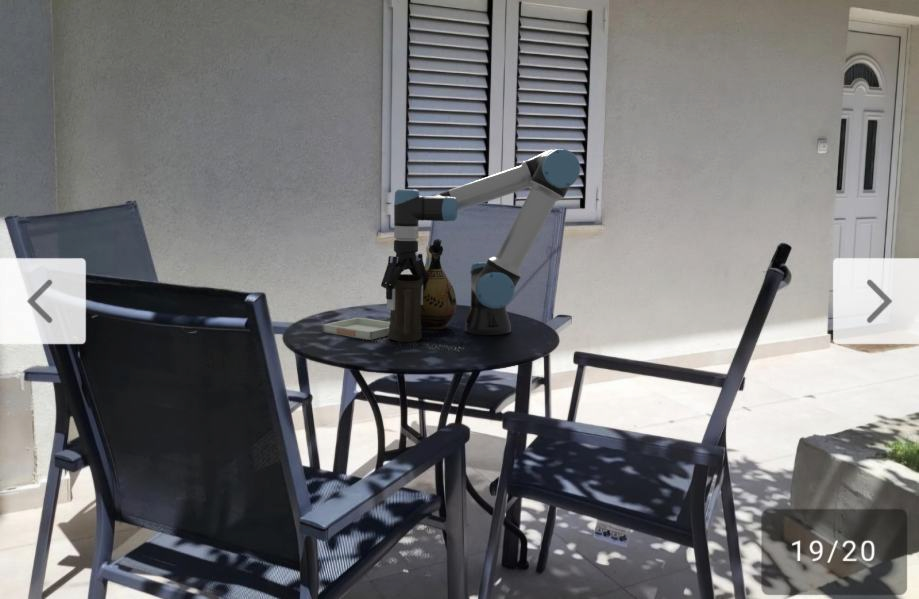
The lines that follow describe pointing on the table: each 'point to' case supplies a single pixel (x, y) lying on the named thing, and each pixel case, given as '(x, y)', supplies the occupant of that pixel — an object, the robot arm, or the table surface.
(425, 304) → the ceramic jug
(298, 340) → the table surface
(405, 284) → the beer stein
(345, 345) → the table surface
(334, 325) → the tray
